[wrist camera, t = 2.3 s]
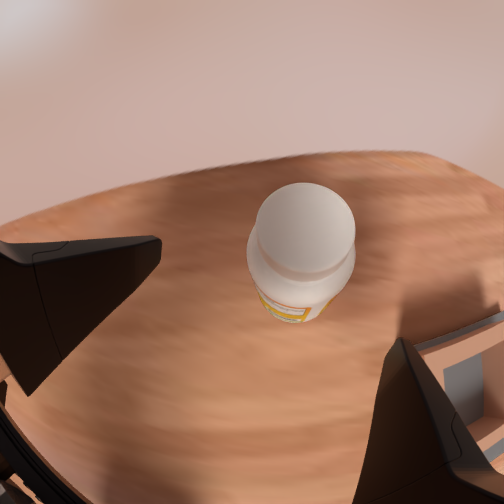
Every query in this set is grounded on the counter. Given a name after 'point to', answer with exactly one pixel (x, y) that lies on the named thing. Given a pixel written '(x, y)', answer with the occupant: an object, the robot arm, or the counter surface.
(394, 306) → the counter surface
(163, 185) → the counter surface
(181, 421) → the counter surface
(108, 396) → the counter surface
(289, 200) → the supplement bottle
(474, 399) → the socket stand
